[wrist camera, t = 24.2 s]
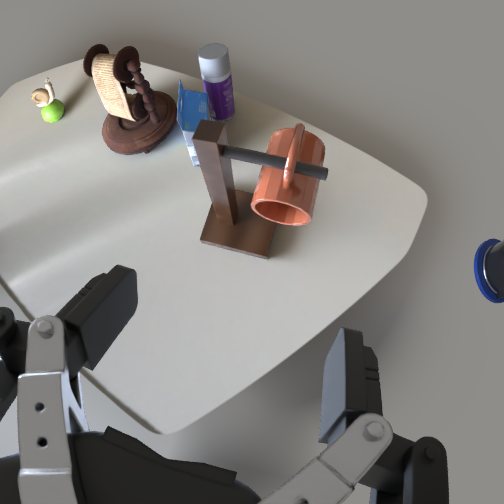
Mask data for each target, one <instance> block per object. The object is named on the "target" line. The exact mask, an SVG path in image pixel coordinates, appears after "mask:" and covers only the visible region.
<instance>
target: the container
mask: <svg viewBox="0 0 504 504" xmlns="http://www.w3.org/2000/svg"><path fill="white" fill-rule="evenodd" d="M198 56H199V62H200V69H201V75H202V80H203V85H204V90H205V93H207V95H208V100H209V105H210V110H211V115H212V119H213V120H215V121H218V122H223V121H227V120H229V119H231V118H232V117H233V115H234V113H235V109H234V98H233V88H232V78H231V69H230V62H229V55H228V48H227V47H226V46H225V45H223V44H219V43H213V44H208V45H205V46H203V47H202V48H201V49H200V50H199V51H198Z"/></svg>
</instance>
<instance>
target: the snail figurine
mask: <svg viewBox="0 0 504 504" xmlns="http://www.w3.org/2000/svg"><path fill="white" fill-rule="evenodd" d="M48 79H49V78H46V81H45V82H48V81H49V80H48ZM45 86H46V88H47V89H48V91H47V90H46V89H42V88H40V89H36V90H35V91H34V92H33V93H32V100H33V101H34V102H35V103H38V104H37V106H40V107H43V108H42V117H43V119H44V120H45V121H47V122H49V123H53V122H56V121H58V120H59V119H60V118H61V117H62V115H63V113H64V105H63V103H62V102H61V101H60V100H57V99H54V97H55V94H54V90H53V88H52V84H51V83H50V82H48V83H46V85H45Z"/></svg>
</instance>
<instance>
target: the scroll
mask: <svg viewBox="0 0 504 504" xmlns="http://www.w3.org/2000/svg"><path fill="white" fill-rule="evenodd" d="M83 69H84V72H85V73H86V75H87V76H89V77H93V79H94V83H95V86H96V88H97V91H98V93H99V96H100V98H101V100H102V102H103V104H104V106H105V108H106V110H107V111H108V113H109V114H108V115H107V117H106V119H105V121H104V124H103V128H102V135H103V139H104V141H105V143H106V144H107V146H108V147H109V148H110V149H111V150H113V151H114V152H116V153H119V154H125V155H131V154H138V153H142V152H145V153H149V149H151V148H153V147H155V146H157V145H158V144H160V143H161V142H162V141H163V140H164V139H166V138H167V137H168V135H169V134H170V133H171V132H172V130H173V129H174V127H175V125H176V122H177V106H176V103H175V101H174V100H173V99H172V97H170V96H169V95H168V94H166V93H163V92H160V91H153V90H152V89H151V88H150V84H149V82H148V81H147V80H144V76H143V75H142V74H141V73H140V72H141V68H140V62H139V54H138V51H137V50H136V49H135V48H134V47H131V46H127V47H124V48H123V49H121V50H120V51H119V52H118V54H117V55H113V54H109V51H108V48H107V47H106V46H105V45H102V44H97V45H95V46H93V47H91V48H90V49H89V50H88V52H87V53H86V55H85V58H84V61H83ZM133 78H134V80H132V79H133ZM131 80H132V81H131ZM126 86H127V87H128V88H130V89H136V91H137V92H138V93H136V94H133V95H132V94H127V91H126Z"/></svg>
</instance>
